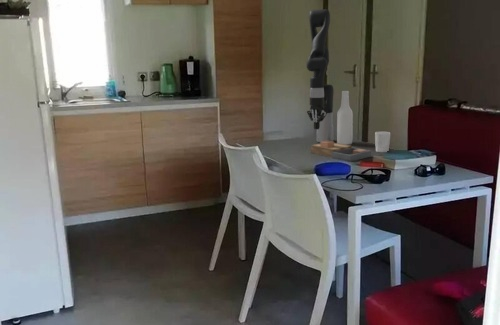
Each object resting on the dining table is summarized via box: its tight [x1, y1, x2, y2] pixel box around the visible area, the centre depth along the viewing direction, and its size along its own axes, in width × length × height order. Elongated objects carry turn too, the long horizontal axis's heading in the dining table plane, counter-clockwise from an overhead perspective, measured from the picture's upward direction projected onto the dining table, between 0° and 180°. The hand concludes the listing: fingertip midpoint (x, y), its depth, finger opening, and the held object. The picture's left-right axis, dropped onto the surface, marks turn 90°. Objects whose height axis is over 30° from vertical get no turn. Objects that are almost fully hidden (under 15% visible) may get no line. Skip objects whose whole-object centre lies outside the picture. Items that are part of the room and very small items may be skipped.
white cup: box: [374, 130, 391, 153], centre depth 272 cm, size 8×8×10 cm
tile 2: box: [353, 148, 368, 154], centre depth 263 cm, size 5×5×2 cm
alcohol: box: [336, 90, 354, 146], centre depth 293 cm, size 9×9×30 cm
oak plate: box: [310, 142, 353, 158], centre depth 272 cm, size 14×16×4 cm
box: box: [331, 147, 372, 162], centre depth 262 cm, size 16×12×3 cm
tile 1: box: [319, 141, 335, 148], centre depth 270 cm, size 5×5×2 cm
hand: (316, 129), depth 274 cm, fingers closed
